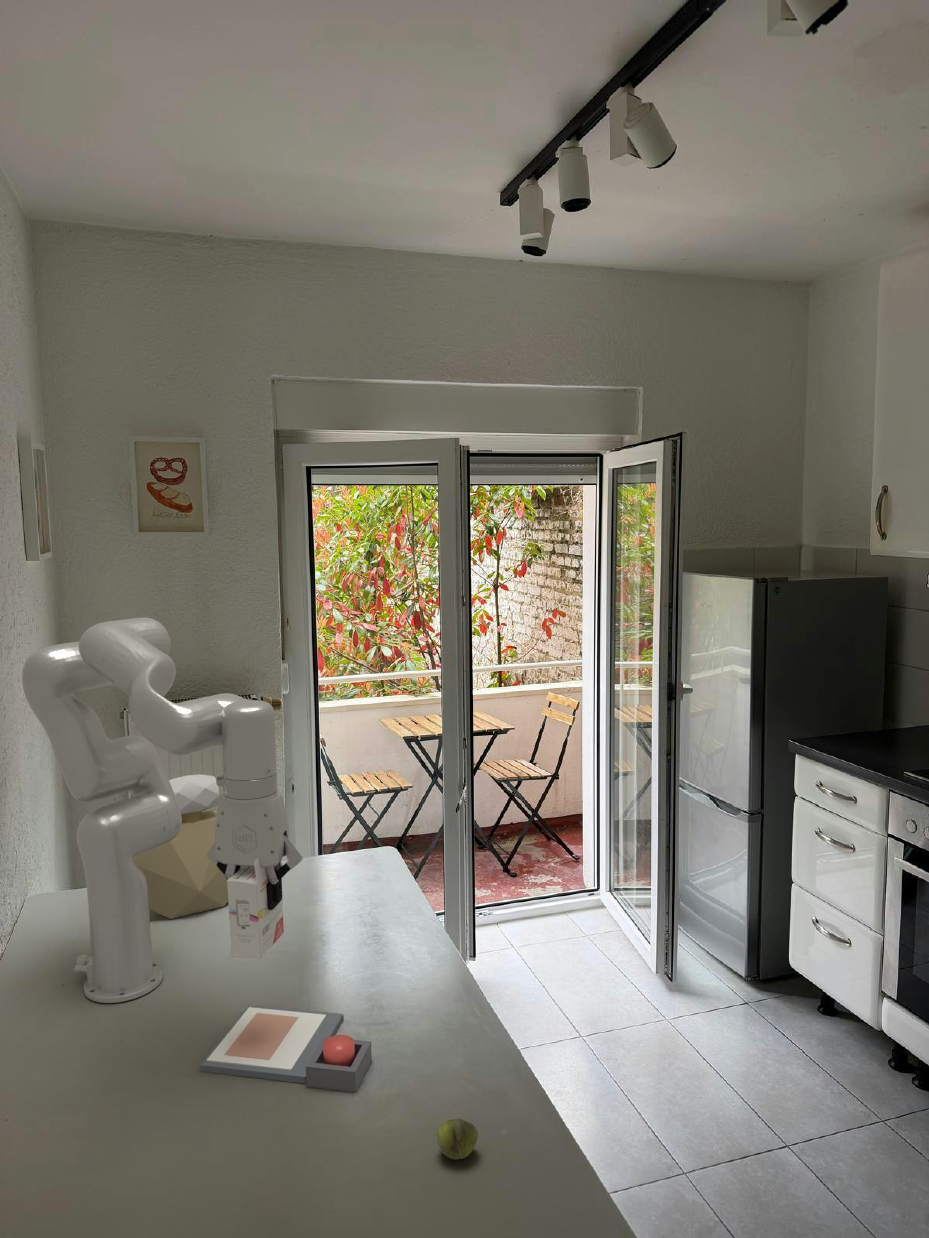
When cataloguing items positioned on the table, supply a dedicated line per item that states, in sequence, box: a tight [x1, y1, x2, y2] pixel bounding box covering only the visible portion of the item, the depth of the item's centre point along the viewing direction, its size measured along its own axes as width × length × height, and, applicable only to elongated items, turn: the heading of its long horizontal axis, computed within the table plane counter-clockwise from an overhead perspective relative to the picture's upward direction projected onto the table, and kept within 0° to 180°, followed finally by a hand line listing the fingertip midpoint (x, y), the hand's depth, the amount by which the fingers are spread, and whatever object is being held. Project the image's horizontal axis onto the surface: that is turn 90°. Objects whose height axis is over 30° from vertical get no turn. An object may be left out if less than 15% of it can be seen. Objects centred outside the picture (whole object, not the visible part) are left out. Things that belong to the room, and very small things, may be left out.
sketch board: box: [199, 1004, 345, 1085], centre depth 131 cm, size 16×16×1 cm
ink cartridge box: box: [227, 859, 285, 960], centre depth 129 cm, size 9×5×15 cm, turn 169°
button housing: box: [306, 1037, 373, 1093], centre depth 124 cm, size 7×7×3 cm
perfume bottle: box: [133, 773, 243, 920], centre depth 178 cm, size 12×24×28 cm, turn 121°
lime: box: [436, 1118, 479, 1161], centre depth 107 cm, size 4×5×5 cm
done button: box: [323, 1034, 355, 1067], centre depth 124 cm, size 4×4×3 cm
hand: (256, 903), depth 129 cm, fingers closed on ink cartridge box, 5 cm apart
